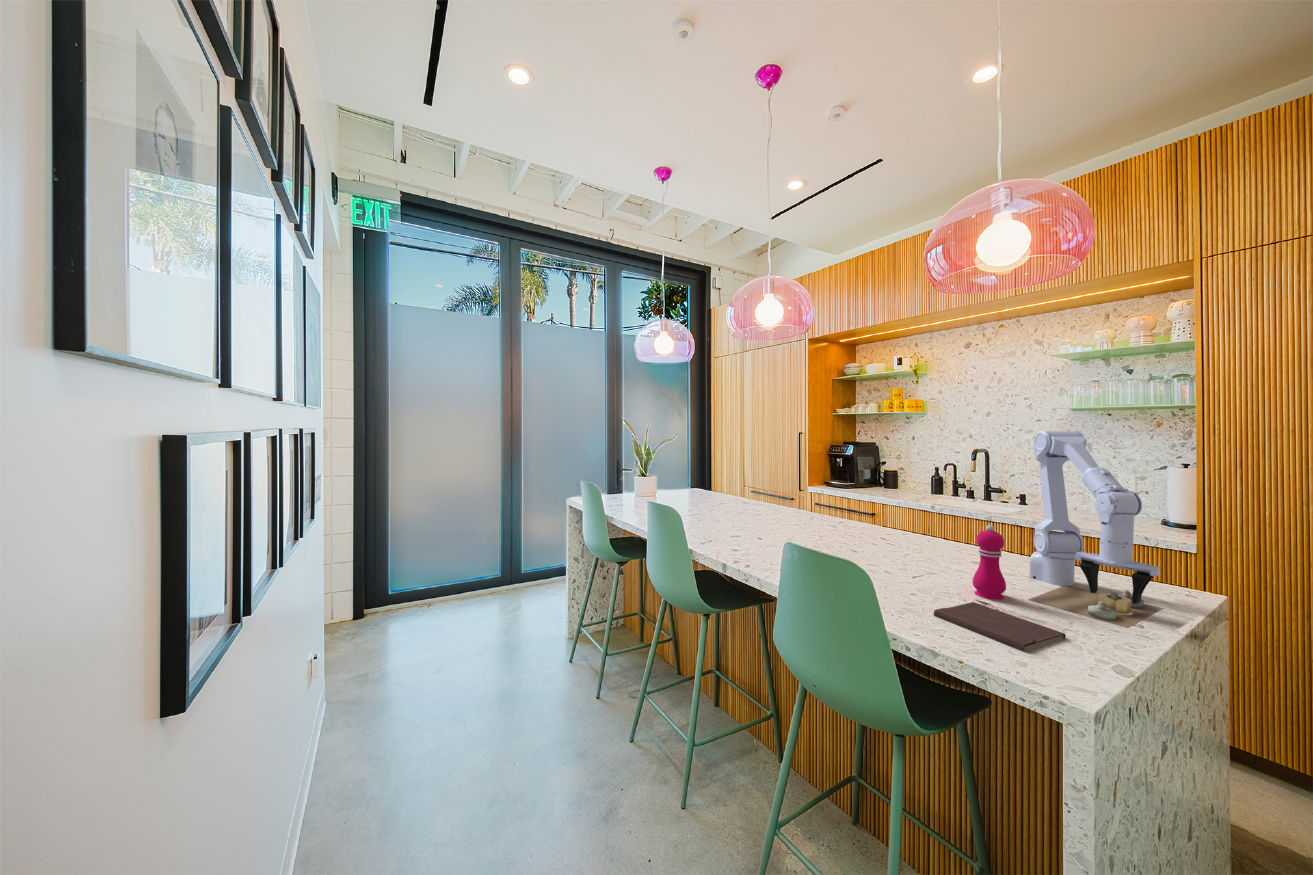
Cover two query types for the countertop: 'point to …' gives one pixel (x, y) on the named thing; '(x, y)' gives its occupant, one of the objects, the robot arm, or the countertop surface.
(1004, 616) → the notebook
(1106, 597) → the brass idler gear
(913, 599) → the countertop surface
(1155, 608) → the board
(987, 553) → the pepper mill
